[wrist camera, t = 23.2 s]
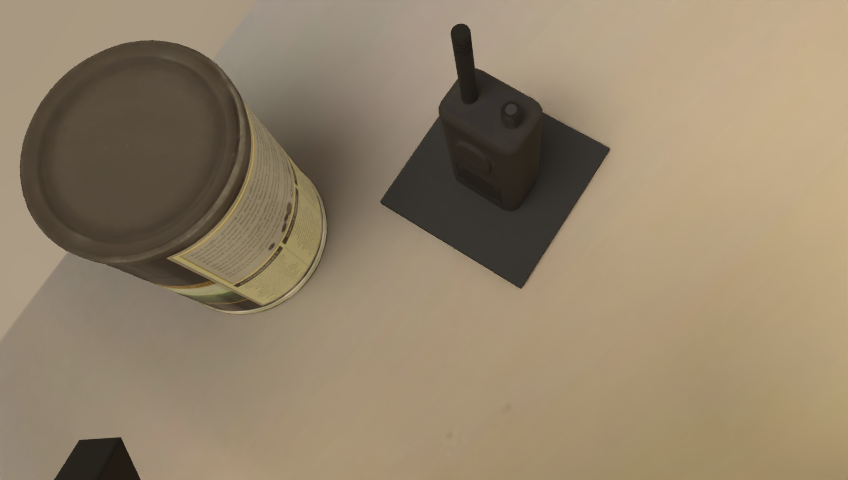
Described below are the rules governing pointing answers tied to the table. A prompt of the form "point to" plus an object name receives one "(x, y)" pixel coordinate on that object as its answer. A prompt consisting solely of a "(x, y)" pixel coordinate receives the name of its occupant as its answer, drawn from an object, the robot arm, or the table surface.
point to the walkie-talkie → (490, 131)
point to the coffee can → (171, 179)
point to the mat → (486, 222)
